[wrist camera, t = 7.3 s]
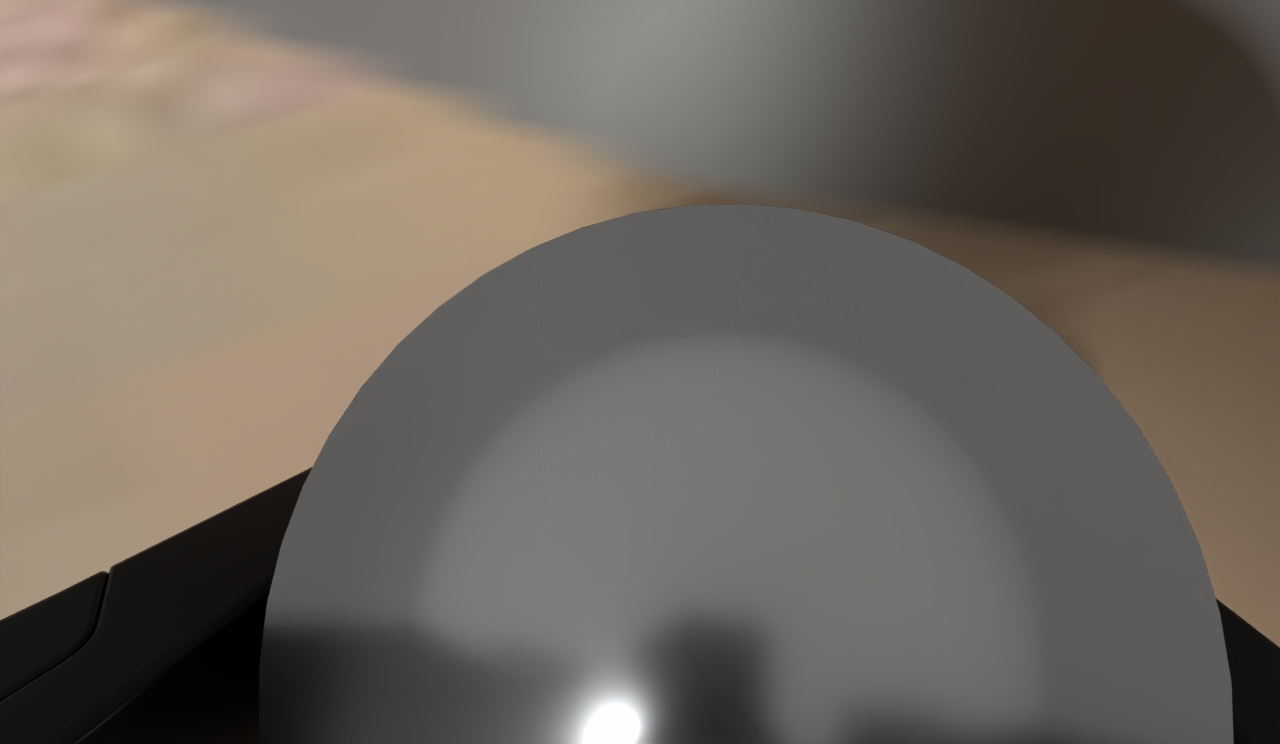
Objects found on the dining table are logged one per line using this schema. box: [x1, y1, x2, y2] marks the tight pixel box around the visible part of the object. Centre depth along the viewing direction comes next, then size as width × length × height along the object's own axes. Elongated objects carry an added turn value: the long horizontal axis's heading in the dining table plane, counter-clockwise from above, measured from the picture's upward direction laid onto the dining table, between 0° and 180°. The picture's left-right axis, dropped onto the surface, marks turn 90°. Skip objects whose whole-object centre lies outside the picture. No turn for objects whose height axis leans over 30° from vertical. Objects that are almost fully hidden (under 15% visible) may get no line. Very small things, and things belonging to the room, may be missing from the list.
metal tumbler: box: [259, 204, 1234, 744], centre depth 10 cm, size 6×6×10 cm
